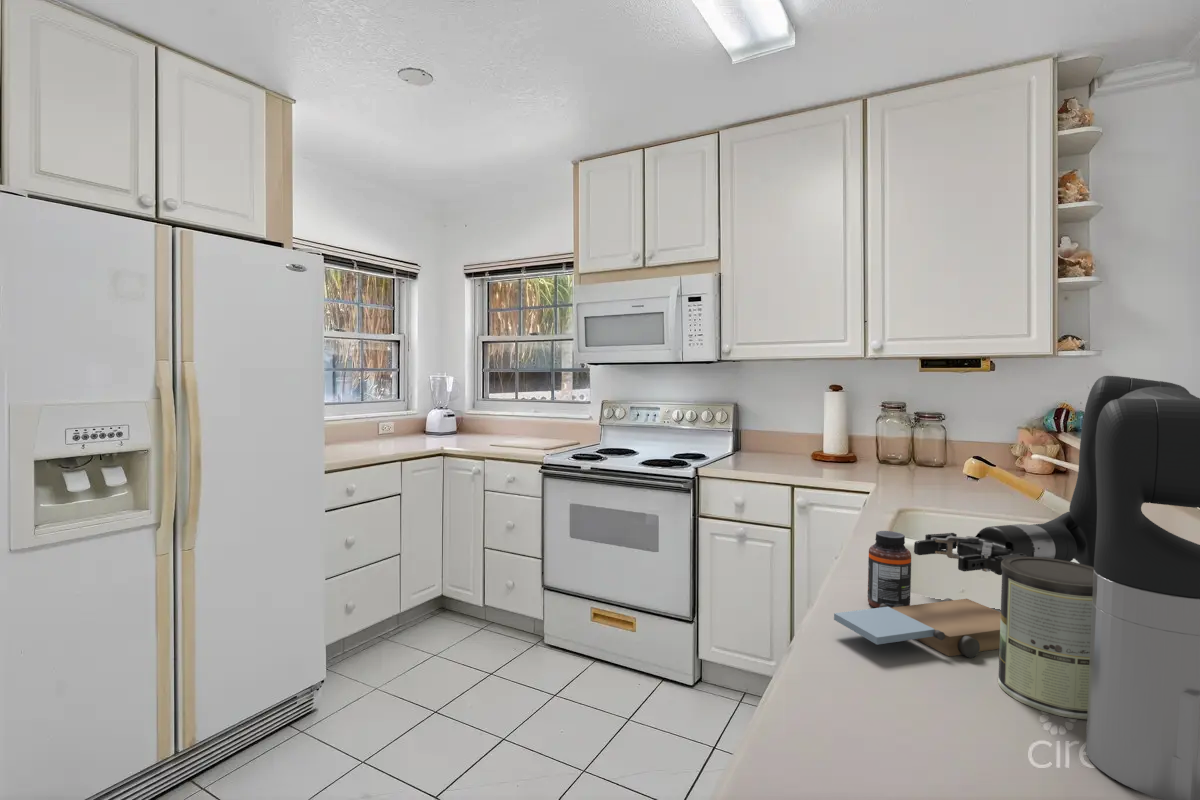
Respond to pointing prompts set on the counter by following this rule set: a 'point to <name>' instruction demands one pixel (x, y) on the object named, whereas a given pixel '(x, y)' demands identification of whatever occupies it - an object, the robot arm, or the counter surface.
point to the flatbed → (957, 625)
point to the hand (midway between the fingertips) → (937, 555)
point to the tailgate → (883, 625)
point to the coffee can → (1046, 634)
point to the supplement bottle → (889, 570)
